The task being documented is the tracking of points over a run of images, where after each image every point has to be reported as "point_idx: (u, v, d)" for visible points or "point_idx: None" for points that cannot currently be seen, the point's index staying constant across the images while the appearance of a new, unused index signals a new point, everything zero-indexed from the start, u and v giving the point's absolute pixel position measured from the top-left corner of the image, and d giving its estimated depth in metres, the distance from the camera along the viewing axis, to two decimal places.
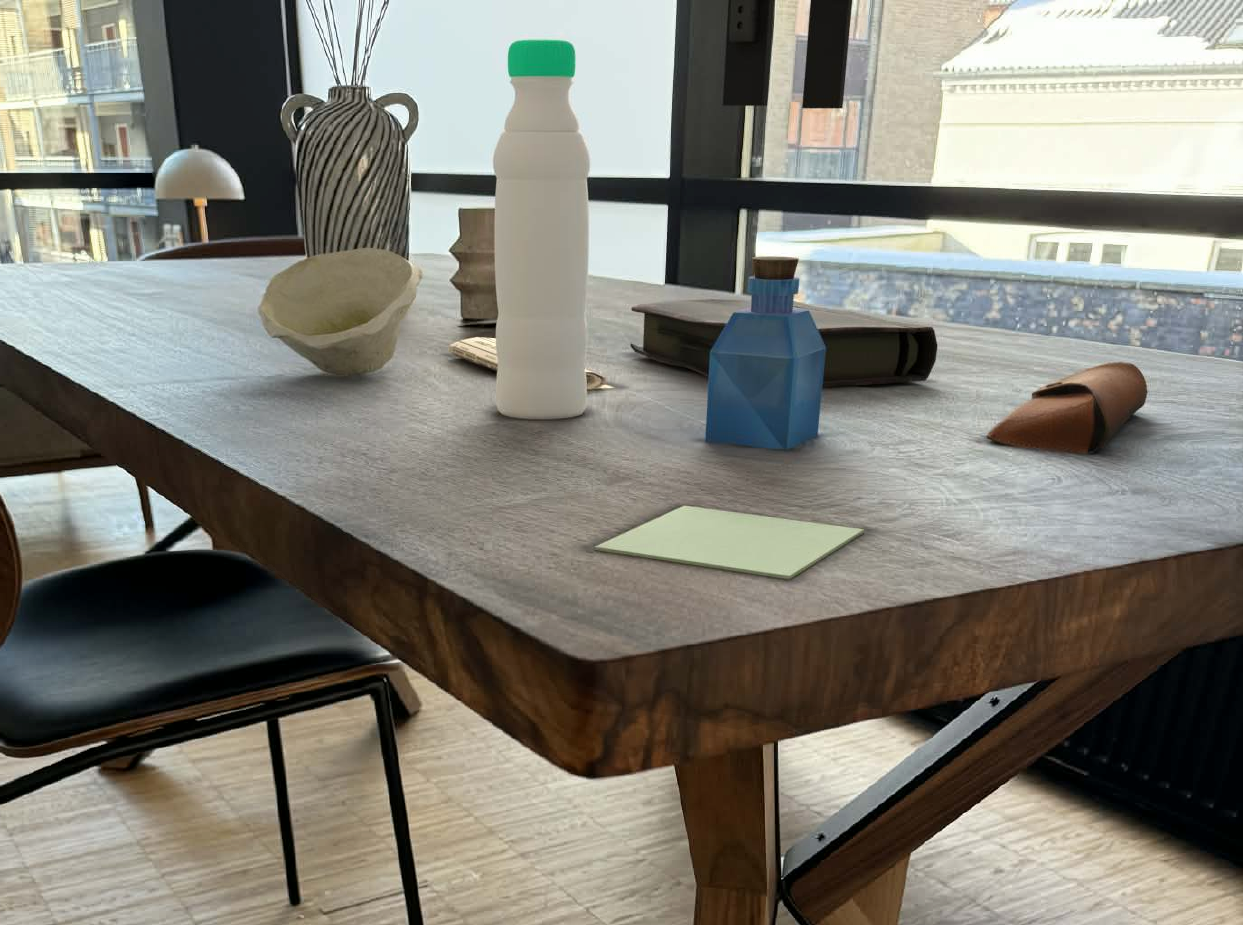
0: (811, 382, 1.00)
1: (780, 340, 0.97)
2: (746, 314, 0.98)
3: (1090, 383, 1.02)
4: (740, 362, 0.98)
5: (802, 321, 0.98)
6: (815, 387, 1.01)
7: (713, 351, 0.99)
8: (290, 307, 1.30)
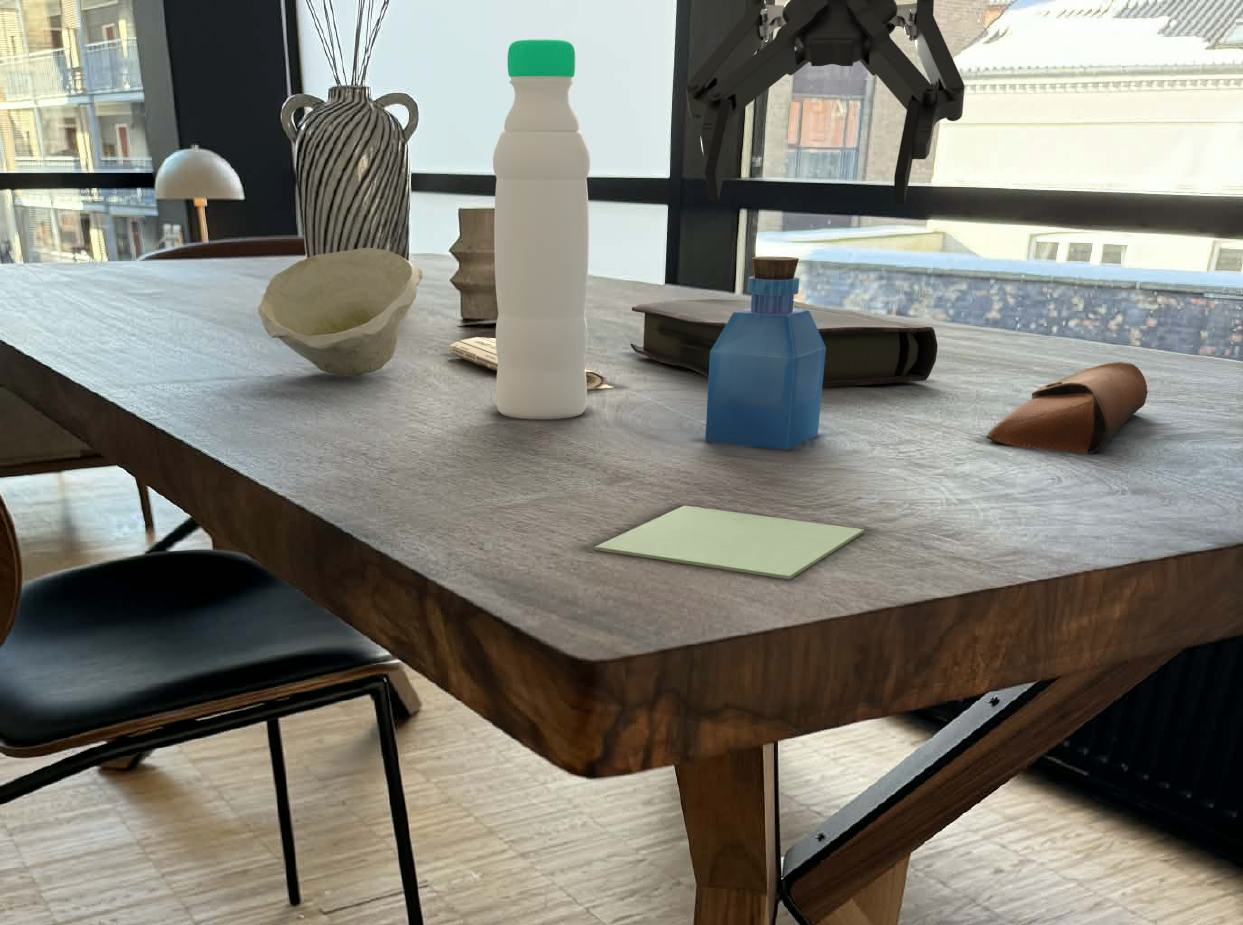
0: (811, 382, 1.00)
1: (780, 340, 0.97)
2: (746, 314, 0.98)
3: (1090, 383, 1.02)
4: (740, 362, 0.98)
5: (802, 321, 0.98)
6: (815, 387, 1.01)
7: (713, 351, 0.99)
8: (290, 307, 1.30)
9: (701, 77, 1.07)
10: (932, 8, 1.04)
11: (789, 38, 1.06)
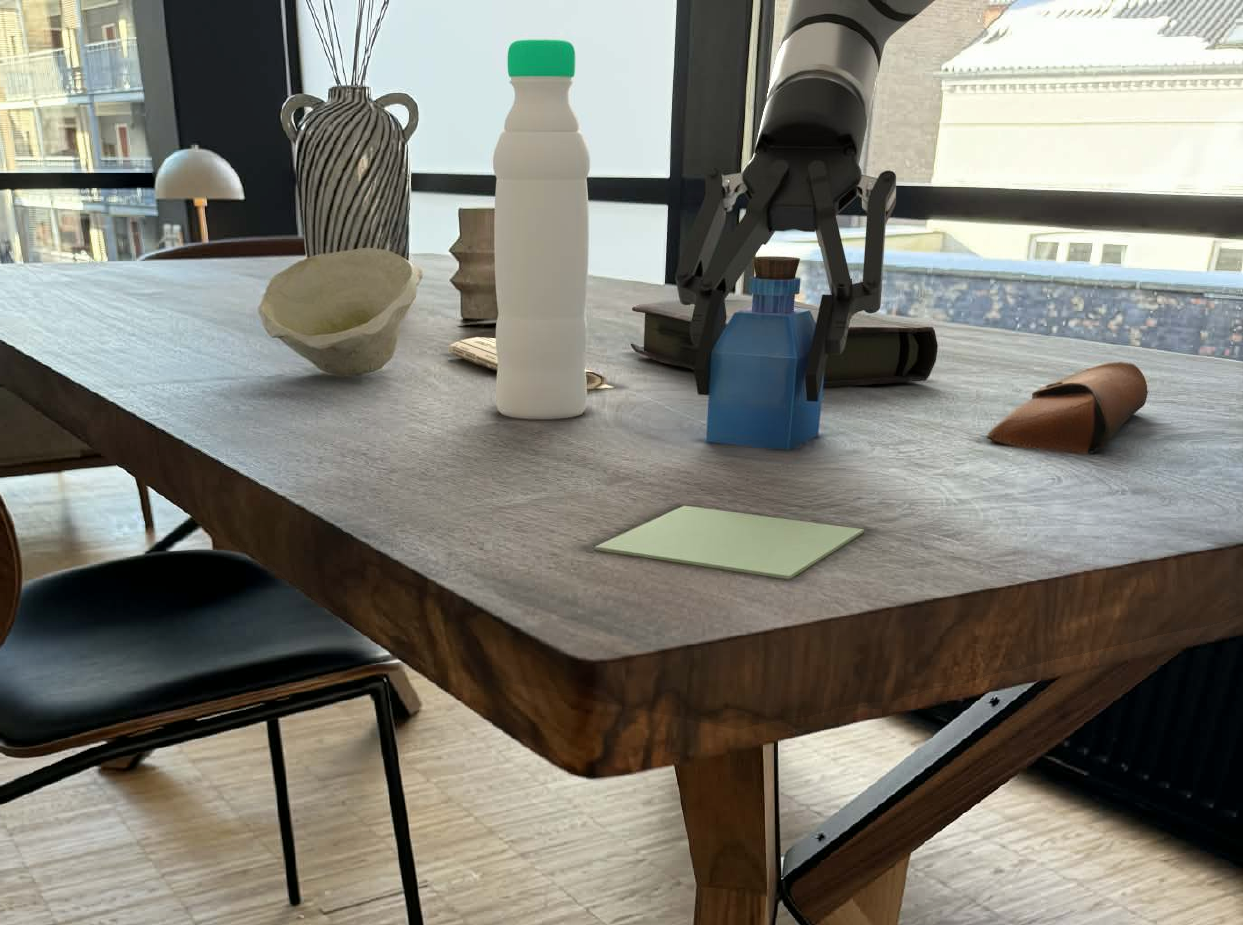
0: None
1: (782, 340, 0.97)
2: (747, 314, 0.98)
3: (1090, 383, 1.02)
4: (741, 361, 0.98)
5: (803, 321, 0.98)
6: None
7: (714, 351, 0.99)
8: (290, 307, 1.30)
9: (687, 263, 1.01)
10: (888, 190, 0.99)
11: (762, 209, 1.00)
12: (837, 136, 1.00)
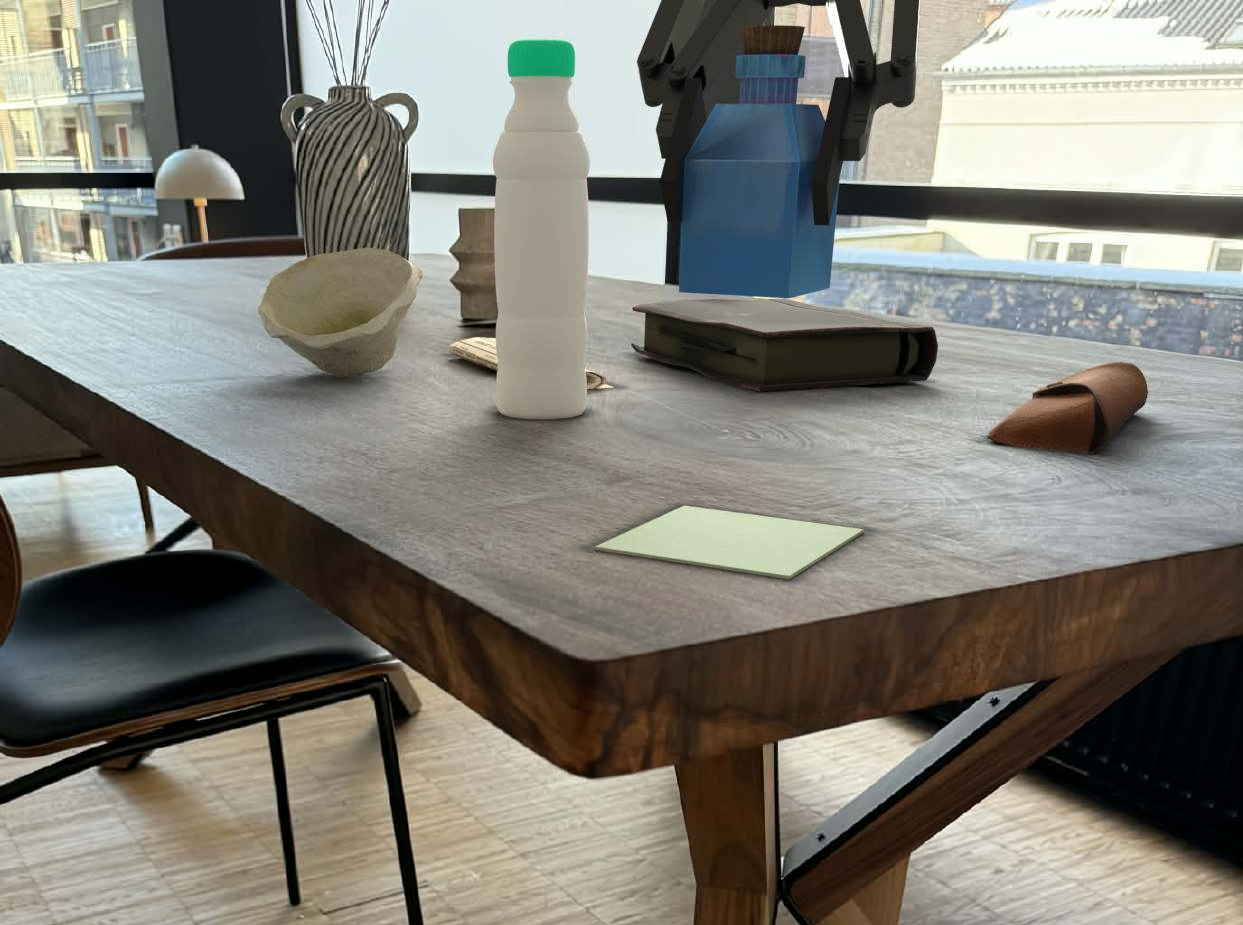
0: None
1: (780, 138, 0.71)
2: (733, 105, 0.72)
3: (1091, 383, 1.02)
4: (725, 172, 0.72)
5: (810, 116, 0.72)
6: None
7: (689, 159, 0.73)
8: (290, 307, 1.30)
9: (654, 46, 0.75)
10: None
11: None
12: None
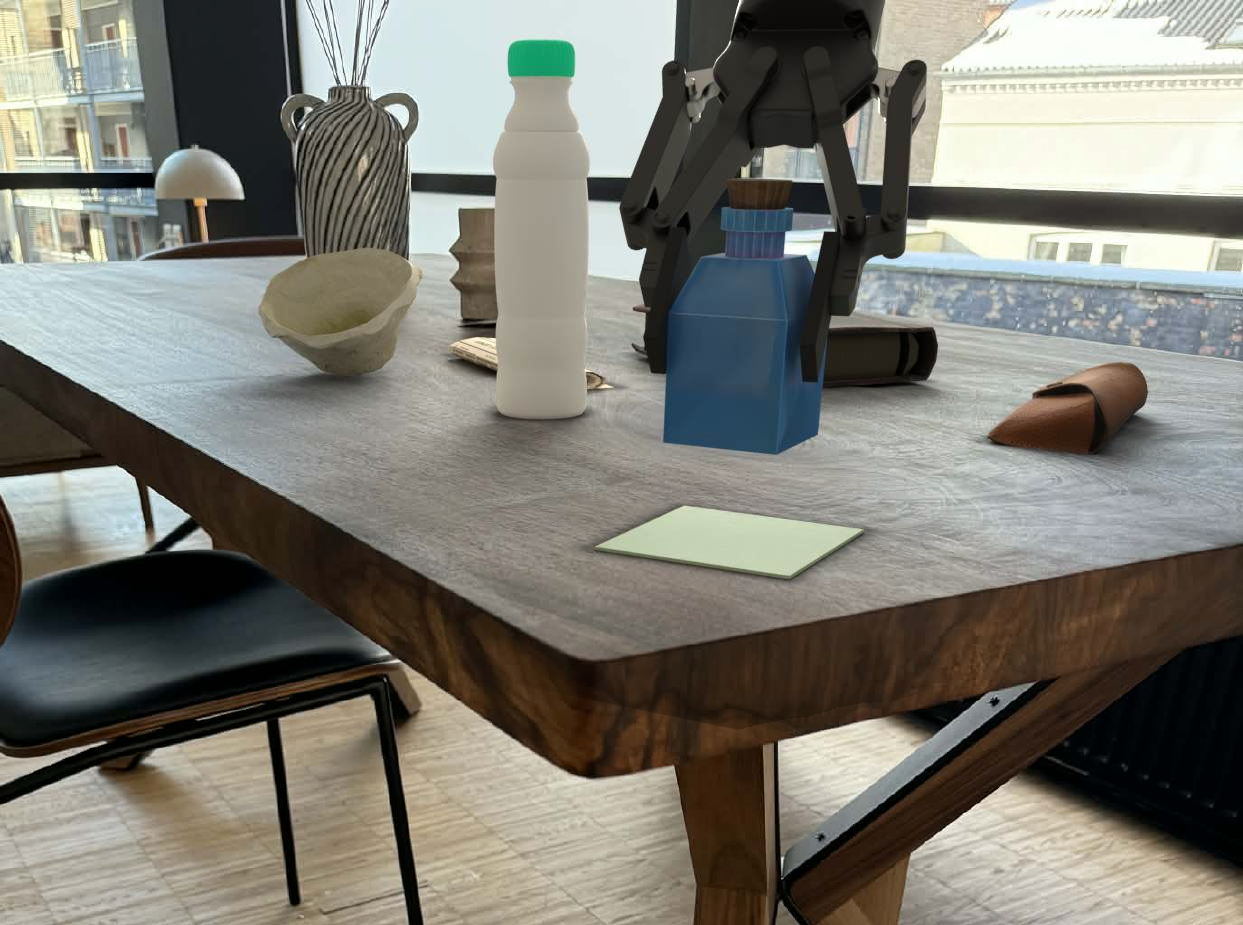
0: None
1: (767, 296, 0.68)
2: (719, 259, 0.69)
3: (1091, 383, 1.02)
4: (711, 326, 0.70)
5: (797, 269, 0.70)
6: None
7: (673, 312, 0.71)
8: (290, 307, 1.30)
9: (637, 191, 0.72)
10: (916, 86, 0.71)
11: (740, 115, 0.72)
12: (844, 13, 0.72)
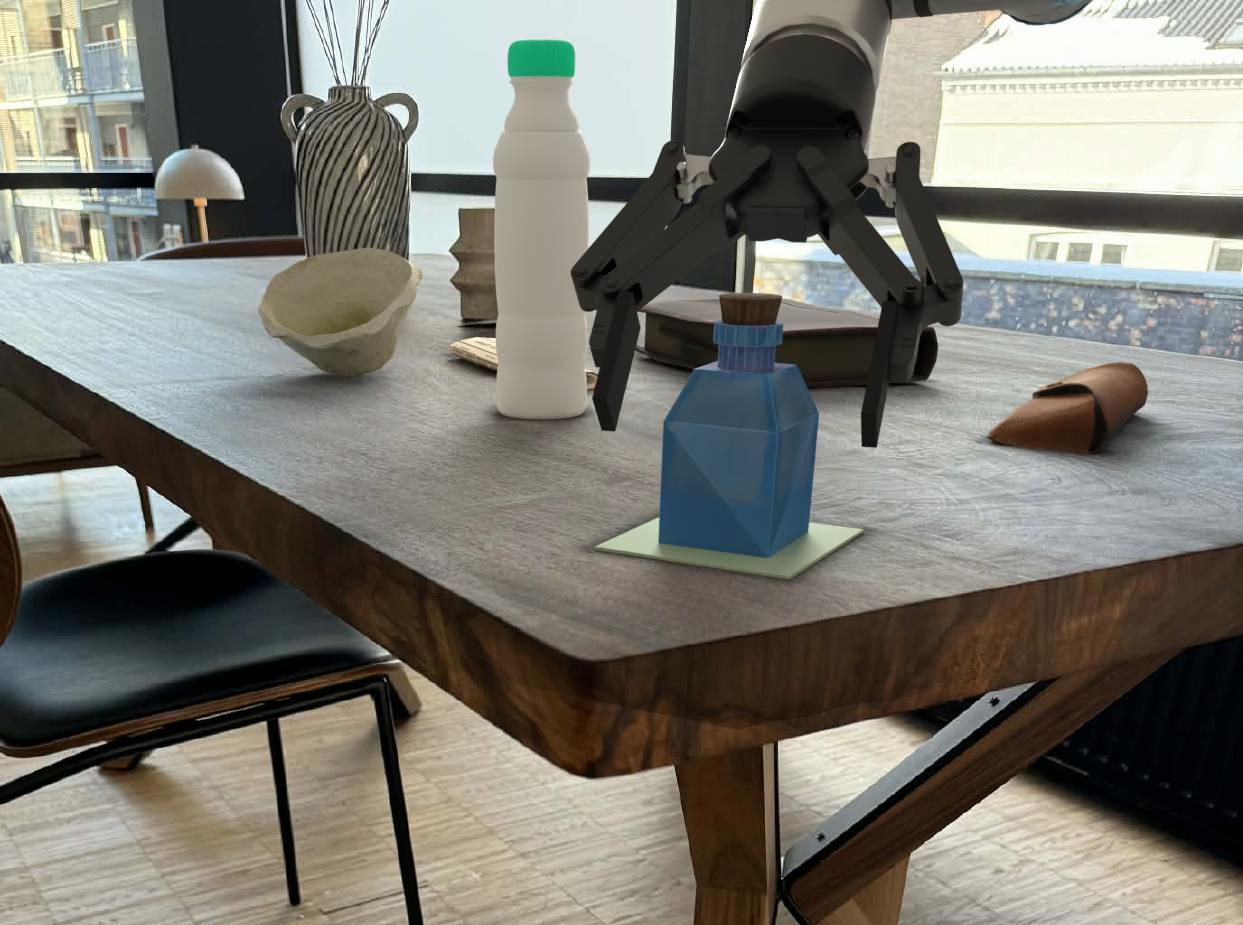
0: (799, 460, 0.74)
1: (758, 408, 0.71)
2: (711, 372, 0.72)
3: (1091, 383, 1.02)
4: (704, 436, 0.72)
5: (787, 380, 0.73)
6: (805, 466, 0.75)
7: (667, 421, 0.73)
8: (290, 307, 1.30)
9: (592, 258, 0.76)
10: (918, 166, 0.73)
11: (715, 206, 0.75)
12: (836, 113, 0.74)
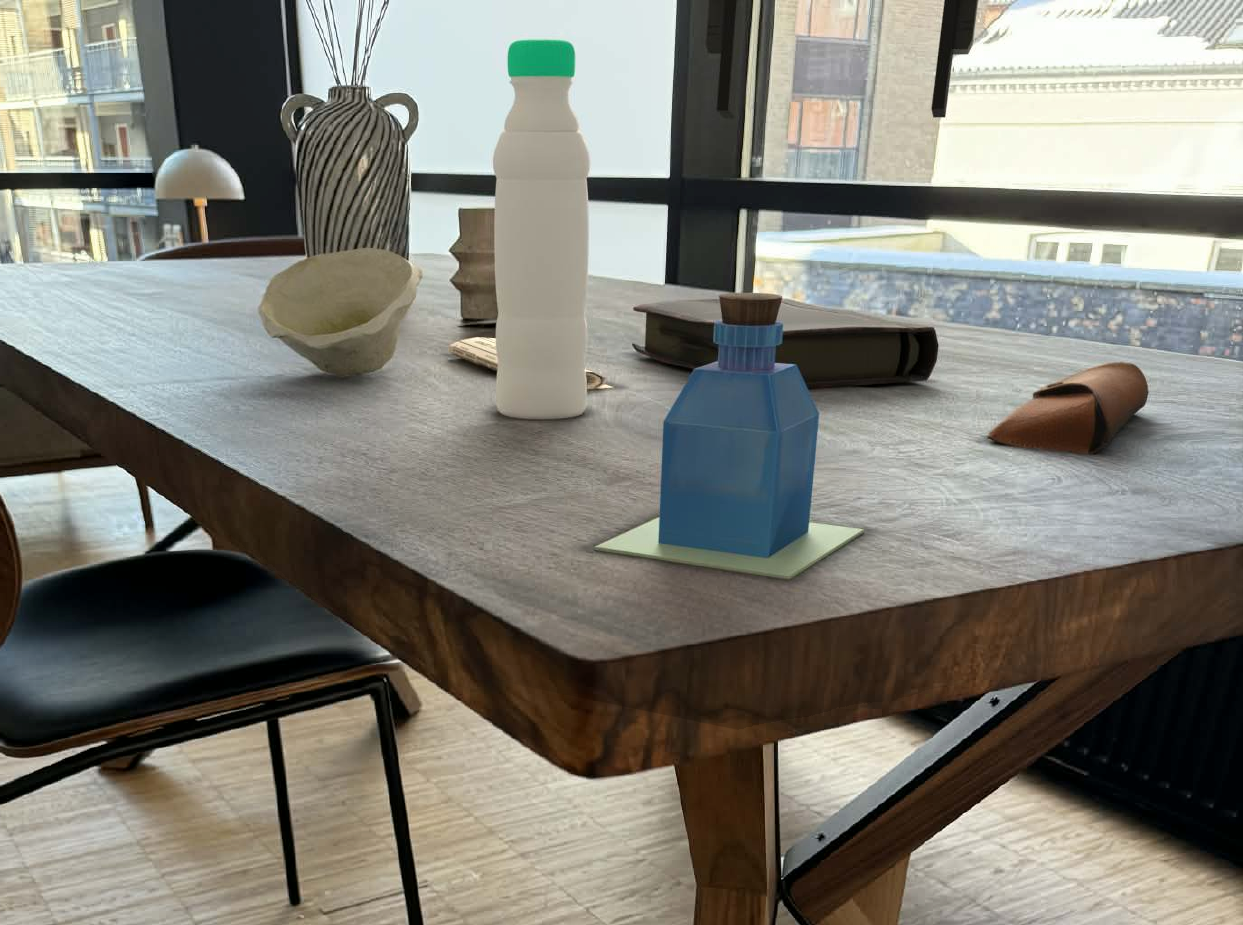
0: (799, 460, 0.74)
1: (758, 408, 0.71)
2: (711, 372, 0.72)
3: (1091, 383, 1.02)
4: (704, 436, 0.72)
5: (787, 380, 0.73)
6: (805, 466, 0.75)
7: (667, 421, 0.73)
8: (290, 307, 1.30)
9: None
10: None
11: None
12: None
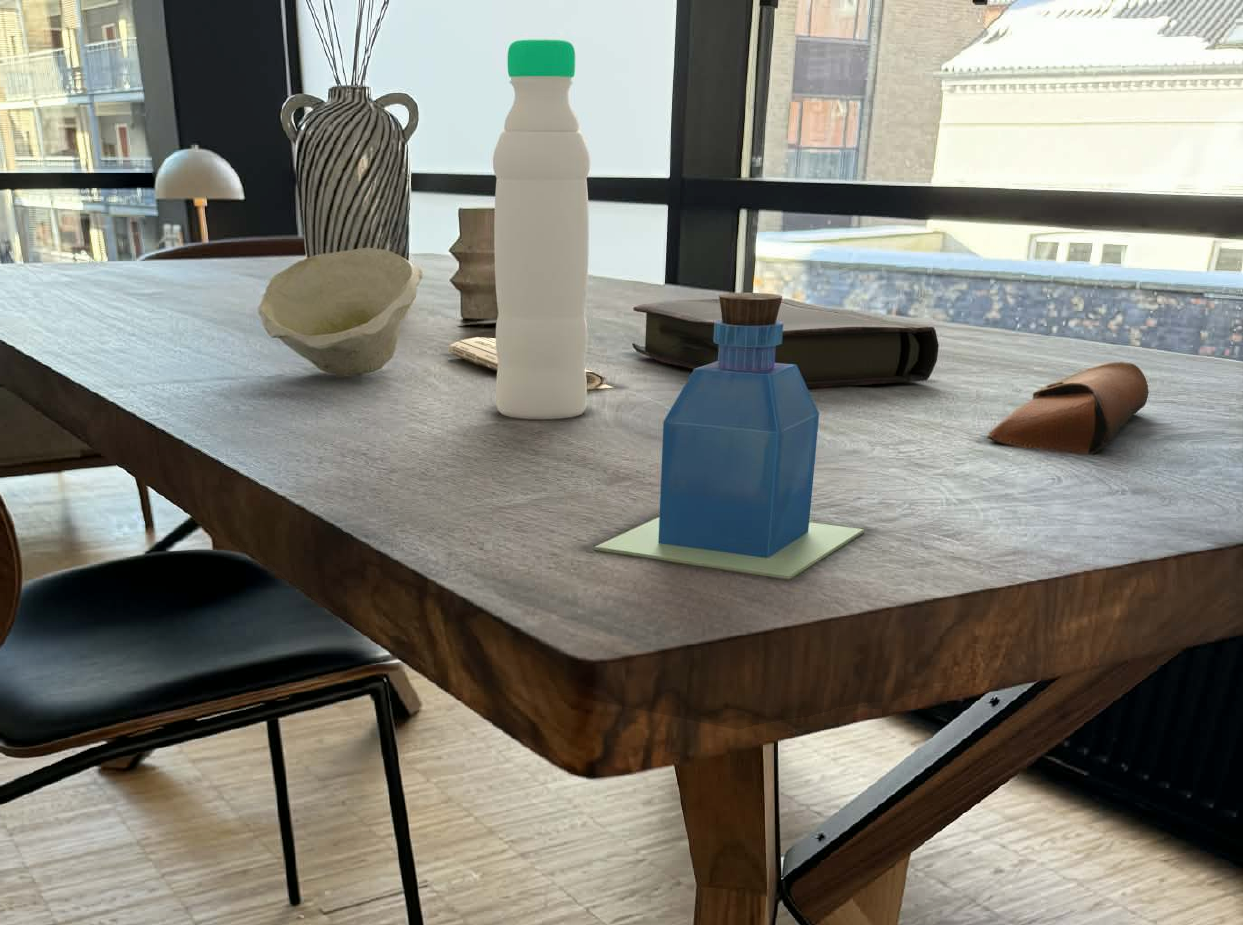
0: (799, 460, 0.74)
1: (758, 408, 0.71)
2: (711, 372, 0.72)
3: (1091, 383, 1.02)
4: (704, 436, 0.72)
5: (787, 380, 0.73)
6: (805, 466, 0.75)
7: (667, 421, 0.73)
8: (290, 307, 1.30)
9: None
10: None
11: None
12: None
